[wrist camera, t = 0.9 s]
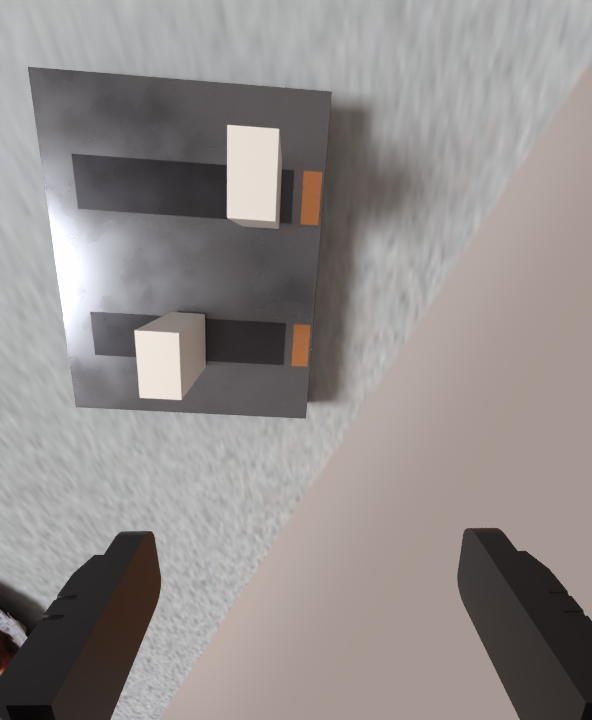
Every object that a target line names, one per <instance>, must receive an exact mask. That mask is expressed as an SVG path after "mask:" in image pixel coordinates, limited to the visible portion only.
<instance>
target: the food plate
mask: <svg viewBox="0 0 592 720" xmlns="http://www.w3.org/2000/svg"><path fill="white" fill-rule="evenodd" d="M7 613H8V612H7ZM8 615H9V613H8ZM9 616H10V615H9ZM10 617H11V616H10ZM26 631H27V629H26V626H25V625H23V624H22V623H20V622H19V621H17V620H14V619H13V618H12V617H11V619H10V618H9V617H8V616H6V614H5V613H4V612H3V611H1V610H0V675H1V674H2V673H3V671H4V670H5V668H6V667H7V666H8V664H9V663H10V661H11V660H12V659H13V657H14V656H15V654H16V653H17V652H18V650H19V649H20V647H21V646H22V645H23V643H24V642H25V640H26V639H27V638H28V637H27V636H26V635H25V633H26Z"/></svg>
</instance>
